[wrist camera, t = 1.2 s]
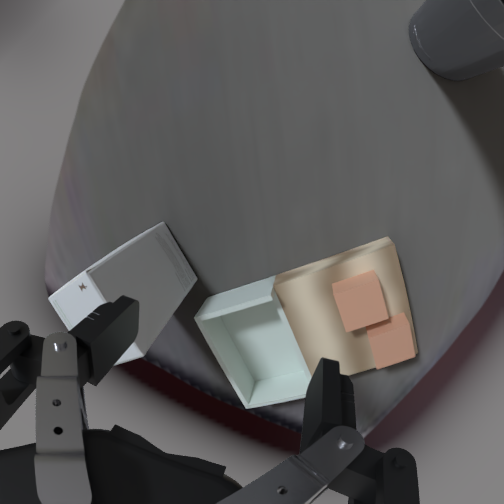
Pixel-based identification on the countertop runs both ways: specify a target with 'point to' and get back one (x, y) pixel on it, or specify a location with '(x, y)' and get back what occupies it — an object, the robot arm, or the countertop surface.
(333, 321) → the board
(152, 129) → the countertop surface
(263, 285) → the box
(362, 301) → the tile
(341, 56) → the countertop surface
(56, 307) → the skincare box
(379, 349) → the tile
